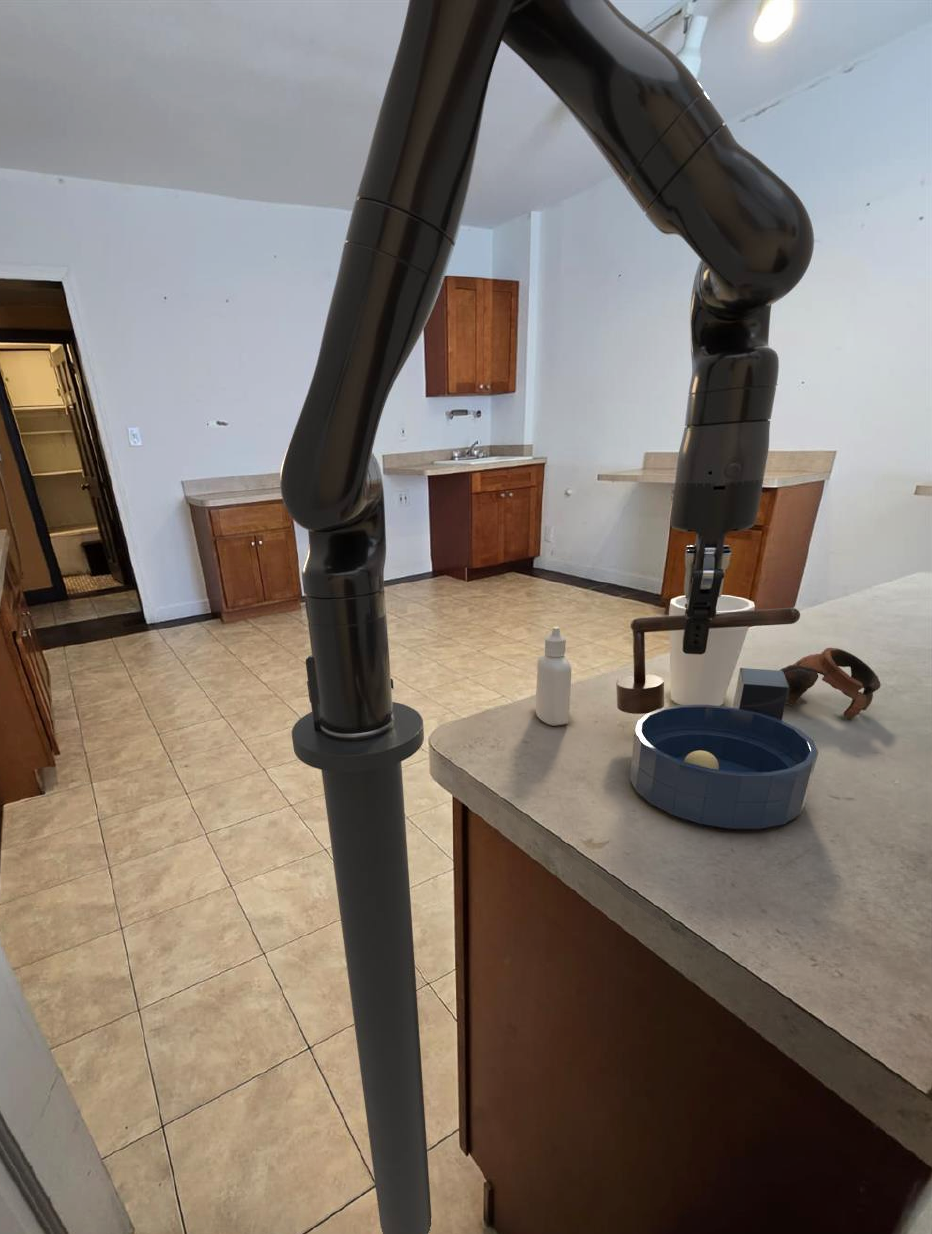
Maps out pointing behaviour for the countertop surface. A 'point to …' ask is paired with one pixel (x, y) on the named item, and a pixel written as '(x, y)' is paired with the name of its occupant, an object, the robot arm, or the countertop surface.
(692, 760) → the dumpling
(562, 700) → the eye dropper bottle
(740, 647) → the foam cup
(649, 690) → the ladle
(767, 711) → the dark navy cube
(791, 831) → the countertop surface
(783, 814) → the bowl
